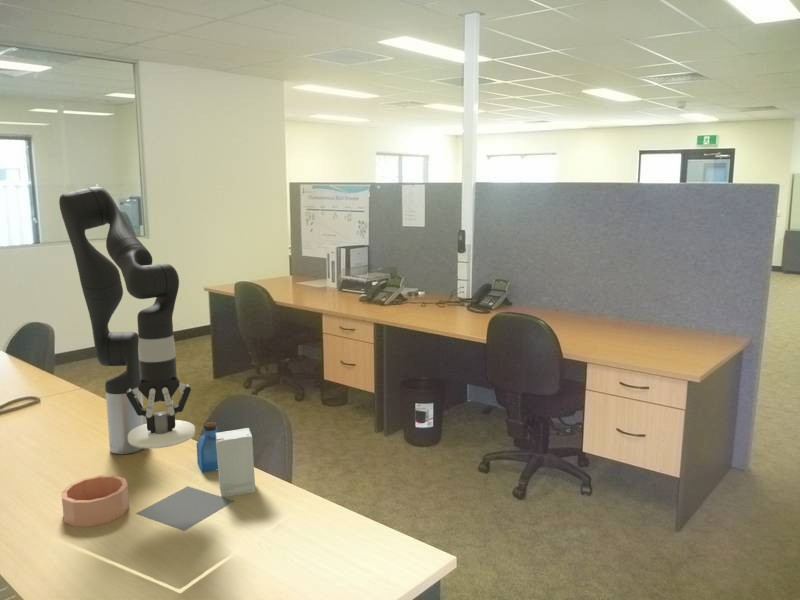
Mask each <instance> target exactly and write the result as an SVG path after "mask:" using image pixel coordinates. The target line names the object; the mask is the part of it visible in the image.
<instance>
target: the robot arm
mask: <svg viewBox="0 0 800 600" xmlns="http://www.w3.org/2000/svg"><path fill="white" fill-rule="evenodd" d="M58 200H59V202H58V204H59V205H58V206H59V209H60V214H61V216H62V220H63V223H64V226H65V229H66V232H67V235H68V238H69V242H70V244H71V247H72V251H73V254H74V259H75V262H76V267H77V270H78V271H77V272H78V276H79V280H80V285H81V290H82V293H83V296H84V300H85V305H86V307H87V311H88V315H89V319H90V324H91V328H92V337H93V342H94V343H93V345H94V349H95V350H94V351H95V354H96V357H97V361H98V362H99V364H100V366H104V367H122V366H123V367H124V366H126V370H125V371H124V372H121V373H120V374H117V375H115V376H112V377H110V378H108V379H106V381H105V382H104V383H105V384H104V388H105V400H106V401H105V402H106V413H107V426H108V428H107V431H108V442H109V444H108V445H109V452H110V453H112V454H116V455H127V454H133V453H136V452H139V451H142V450H143V449H144V448H139V447H135V446H132V445H131V444H129V442H128V433H129V432H130V431H131V430H132V429H134V428H136V427H138V426H140V425H143V424H146V423H147V430H148V431H151V433H154V421H153V414H154V413H153V411H154V404H155V403H158V402H164V403H165V406H166V408H167V412H168V413H169V415H168V426H169V431H172V429H173V428H175V420H176V415H177V413H181V412H183V411H184V408H185V405H186V403H187V401H188V399H189V396H190V393H191V390H192V385H191V384H189V383H187V384H185V383H182V382H180V380H179V379H178V375H177V374H178V373H177V372H178V371H177V359H176V358H177V356H176V353H177V350H176V341H175V338H174V326H173V325H174V324H173V323H174V322H173V315H174V310H175V305H176V302H177V296H178V294H179V293H178V292H179V288H180V278H179V274H178V271H177V270H176V268H175V267H174V266H173V265H171V264H170V263H157V264H153V256H152V254H151V253H150V251H149V250H148V249H147V248H146V246H145V245H144V244H143V243H142V242H141V241H140V240H139V239H138V237H137V236H136V235H135V234H134V232H133V231H132V230H131V227H130V226H129V224H128V222H127V220H126V218H125V217H124V215H123V213H122V212H121V210H120V209H119V207H118V206H117V203H116V202H115V200H114V198H113V196H111V194H110V193H109V192H108V190H106V189H105V188H103V187H101V186H92V187H91V186H90V187H88V188H82V189H78V190H71V191H68V192H65V193H62V194H61V195H60V196H59V199H58ZM106 224H107V225H109V229H108V232H107V236H106V239H105V244H106V246H105V247H106V252H107V254H108V255H109V257H110V259H111V260H110V259H109V258H108V257H106V256H105V255H104V254H103V253H101V252H100V251H99V250H97V249H96V247H95V246H94V245H92V243H90V241H89V240H88V238H87V236H86V231H87V230H91V229H94V228H98V227H101V226H105V225H106ZM113 262H114V263H113ZM120 271H121V274H120ZM121 275H122V277H123V280H124V282H125V288H126V290H127V292H128V294H129V295H130V296H131V297H134V298H135V299H139V300H146V299H154V298H155V300H154V303H153V304H152V305H150V306H148V307H146V308H144V309H141V310H140V311H139V312H138V313H137V332H134V331H120V332H119V331H117V332H116V331H115V332H113V331H112V332H111V331H110V330H109V323H110V321H111V318H112V316H113V315H114V313H115V311H117V310H116V309H117V308H118V306H119V304H120V303H121V301H122V299H123V295H124V289H123V284H122V279H121ZM178 389H179V393H180V394H181V395H180V398H179V401H178V403H177V405H175V404H174V400H173V396H174V395H175V393H176V392H177V390H178ZM143 396H144V397H145V399H146V400H147V406H146V408H145V407H144V404H143V402H144V401H143V400H144V399H143Z"/></svg>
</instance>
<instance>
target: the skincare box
mask: <svg viewBox="0 0 800 600" xmlns="http://www.w3.org/2000/svg"><path fill="white" fill-rule="evenodd" d="M250 430H251V429H250V428H249V427H246V428H245V427H243V428H240V429H233V430H227V431H220V432H219V431H217V433H216V448H217V459H218V470H217V472H218V482H219V483H218V485H219V490H220V491H219V492H220V496H221V497H224V498H227V497H231V496H238V495H244V494H249V493H256V481H255V480H256V479H255V478H256V477H255V476H256V475H255V464H254V463H255V462H254V446H253V445H254V444H253V436H252V432H251V431H250Z"/></svg>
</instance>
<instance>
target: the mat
mask: <svg viewBox="0 0 800 600" xmlns="http://www.w3.org/2000/svg"><path fill="white" fill-rule="evenodd" d="M233 502H235V500H234V499H231V498H228V497H221V495H217V494H214V493H211V492H208V491H205V490H201V489H198V488H194V487H191V486H189V485H188V486H186V487H184V488H182V489H180V490H178V491H175V492H173V494H172V493H171V494H170V495H168V496H166V497H164V498H162V499H161V500H159V501H157V502H155V503H153V504H150V505H148V506H147V507H144V508H143V509H141V510H139V511H137V512H135V514H136V515H138V516H142V517H144V518H147V519H149V520H153V521H155V522H159V523H162V524H163V525H166V526H167V525H168V526H170V527H172V528H175V529H178V530H181V531H184V532H185V531H186V530H188V529H190V528H192V527H193V526H195V525H197V524H199V523H200V522H201V521H204V520H205V519H207V518H208V517H210V516H212V515H213V514H215V513H218V512H219V511H221V510H222V509H223V508H225V507H227V506H228V505H231V503H232V504H233Z"/></svg>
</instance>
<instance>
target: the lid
mask: <svg viewBox="0 0 800 600" xmlns="http://www.w3.org/2000/svg"><path fill="white" fill-rule="evenodd" d="M168 415H169V412H168V411H157V412H155V413H153V421H154V433H151V431H148V430H147V423H146V424H143V425H140V426H138V427H136V428H134V429H132V430H131V431H130V432H129V433H128V442H129V444H131V445H132V446H135V447H139V448H143V449H164V448H169V447H174V446H177V445H180V444H182V443H185V442H188V441H189V440H191V439H192V438H193V437H195V435H196V428H195V427H196V426H195V424H193V423H192V422H189V421H185V420H181V419H180V420H179V419H175V428H173V429H172V431H169V426H168Z"/></svg>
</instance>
